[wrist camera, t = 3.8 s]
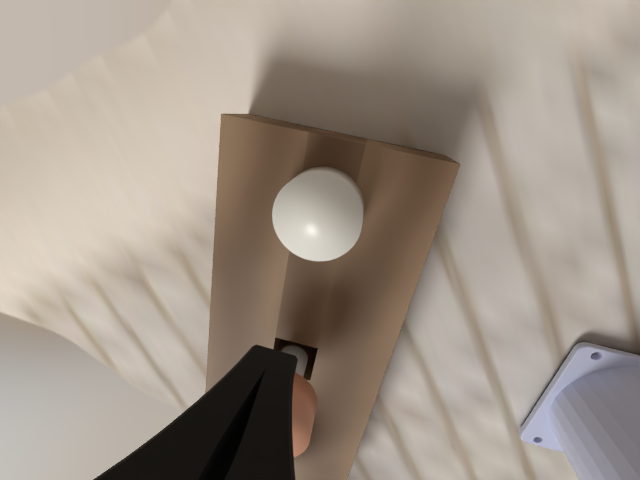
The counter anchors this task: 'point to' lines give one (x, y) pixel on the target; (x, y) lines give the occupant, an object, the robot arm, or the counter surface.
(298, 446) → the knob middle
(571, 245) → the counter surface
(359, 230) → the knob
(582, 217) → the counter surface
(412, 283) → the rack
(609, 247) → the counter surface
